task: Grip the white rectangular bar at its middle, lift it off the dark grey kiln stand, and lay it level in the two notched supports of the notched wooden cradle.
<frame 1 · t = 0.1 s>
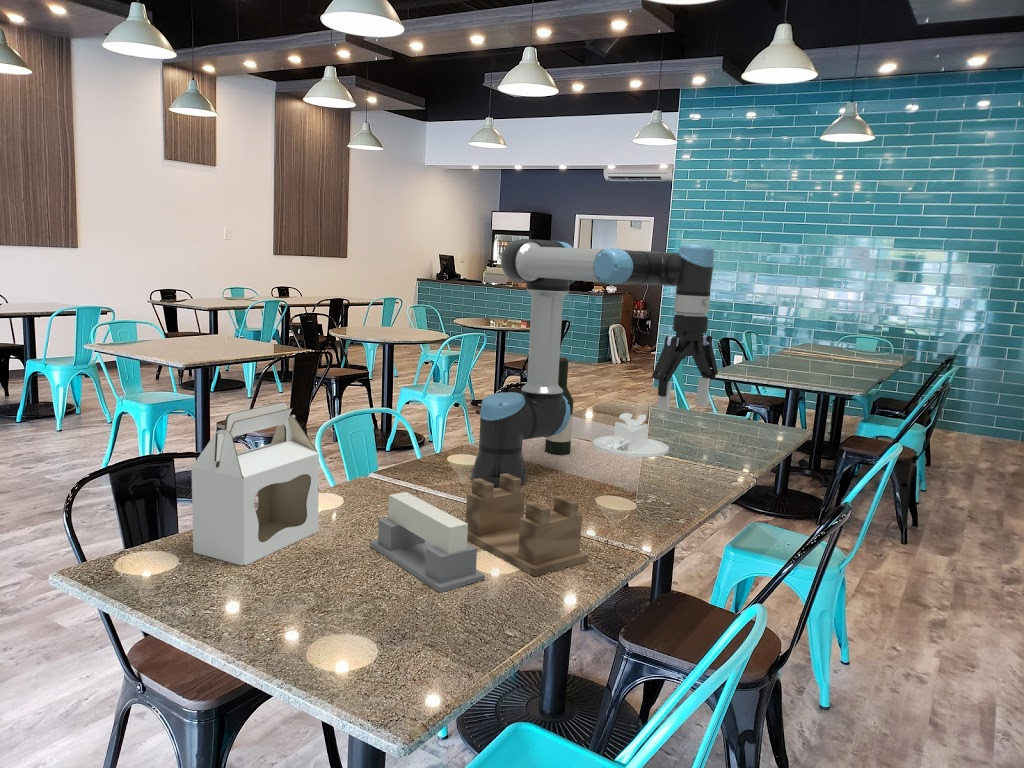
hand: (683, 408, 173), 28 cm above the table, tool pointing down, fingers open, 13 cm apart
kiln stand: (424, 562, 150), on the table
white rectangular bar: (425, 533, 149), point 6 cm above the table, touching kiln stand
dish: (630, 448, 251), on the table
gable box: (258, 542, 156), on the table
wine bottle: (557, 452, 240), on the table
notched wooden cradle: (520, 547, 160), on the table
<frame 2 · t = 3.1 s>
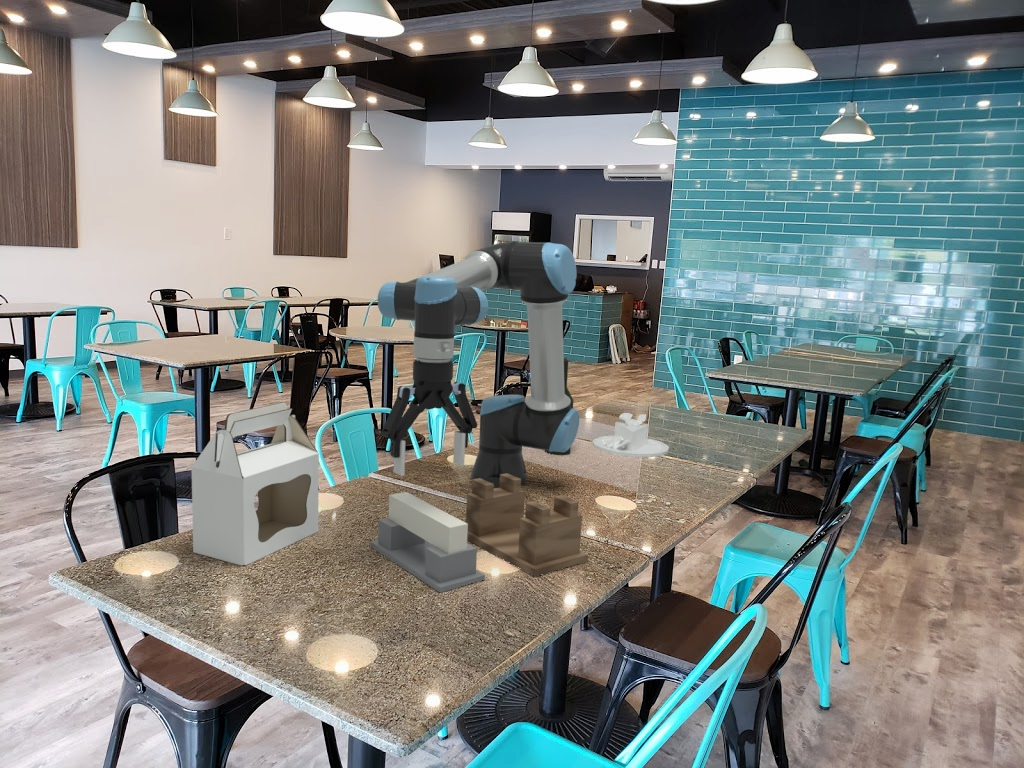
hand: (429, 469, 147), 19 cm above the table, tool pointing down, fingers open, 13 cm apart
nothing on the table moved.
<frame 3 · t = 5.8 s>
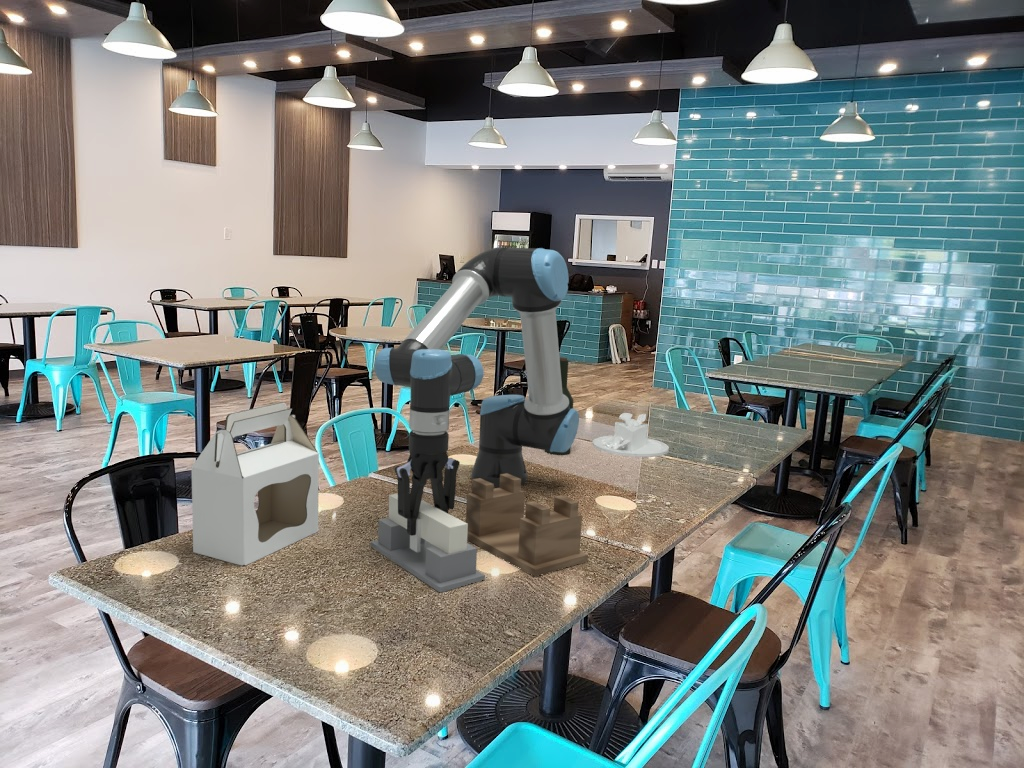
hand: (425, 547, 149), 3 cm above the table, tool pointing down, fingers closed on white rectangular bar, 4 cm apart
white rectangular bar: (425, 533, 149), point 6 cm above the table, touching gripper, kiln stand
everything else where it was.
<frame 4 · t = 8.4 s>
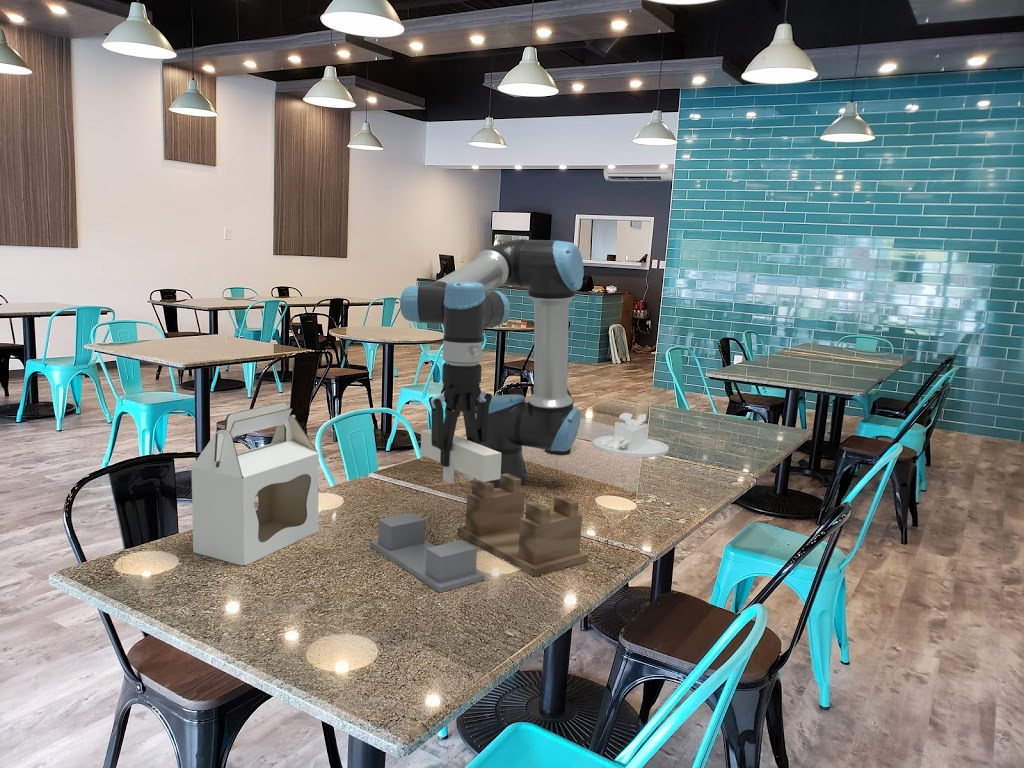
hand: (458, 479, 150), 16 cm above the table, tool pointing down, fingers closed on white rectangular bar, 4 cm apart
white rectangular bar: (458, 465, 150), point 19 cm above the table, touching gripper
everything else where it was.
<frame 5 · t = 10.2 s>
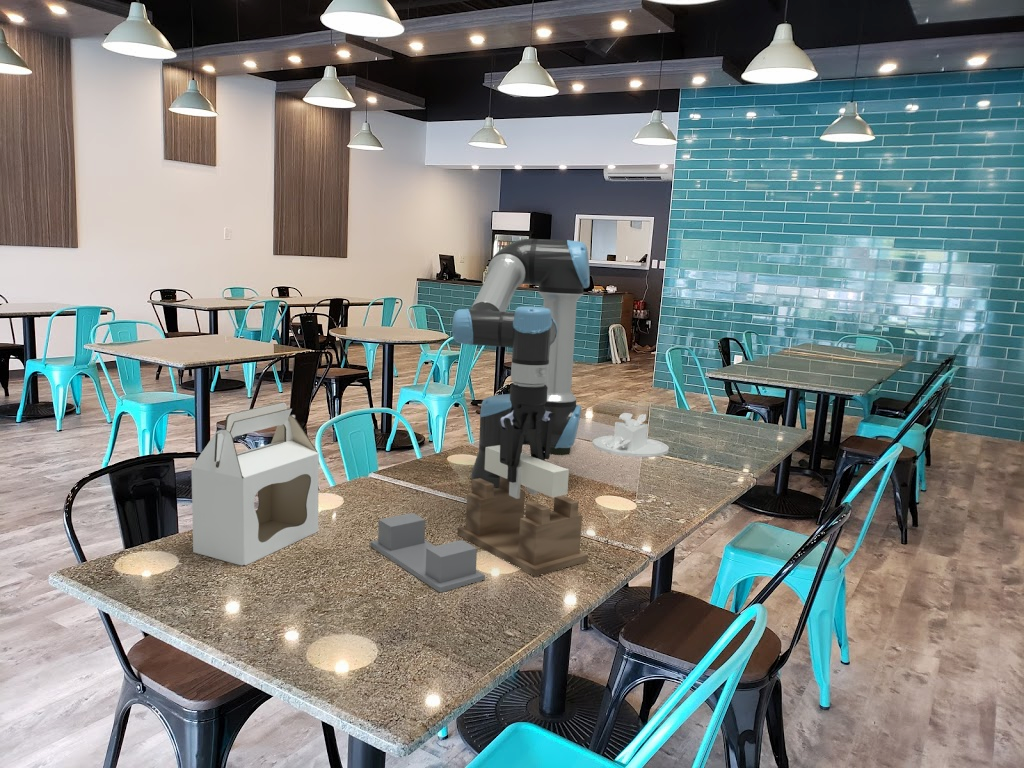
hand: (523, 494, 158), 12 cm above the table, tool pointing down, fingers closed on white rectangular bar, 4 cm apart
white rectangular bar: (524, 481, 157), point 14 cm above the table, touching gripper
everything else where it was.
when the fingers open (9 cm above the table, at t = 11.4 s): white rectangular bar drops 2 cm, resting on notched wooden cradle.
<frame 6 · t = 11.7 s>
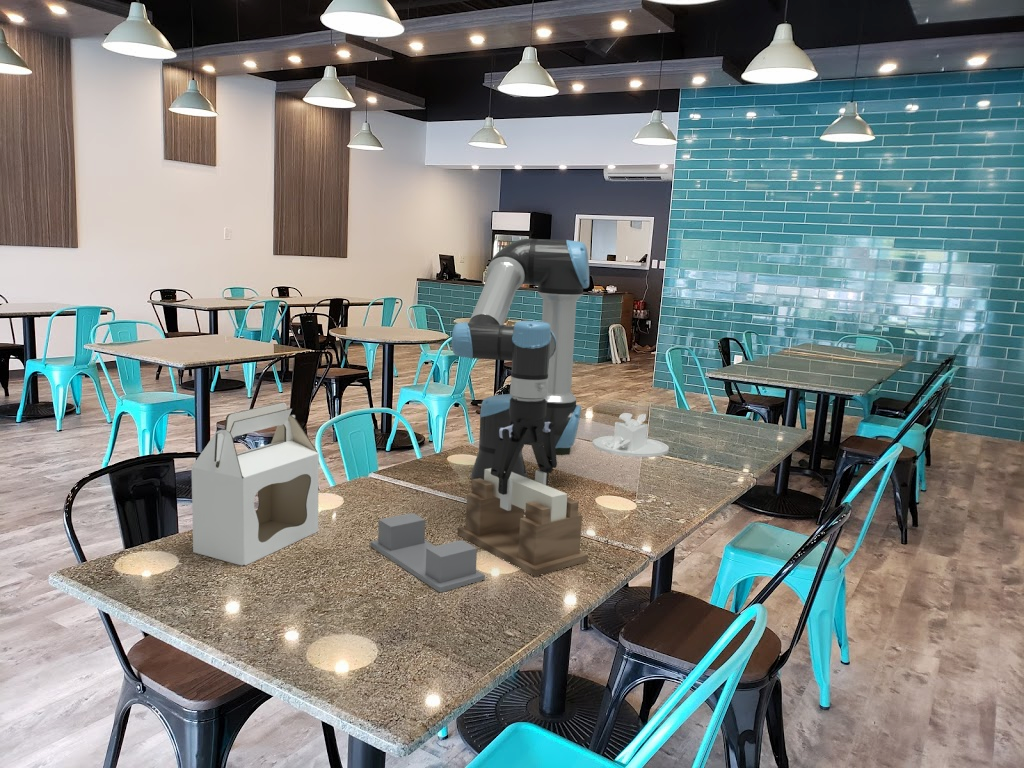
hand: (522, 504, 158), 9 cm above the table, tool pointing down, fingers open, 8 cm apart
white rectangular bar: (522, 504, 158), point 9 cm above the table, touching notched wooden cradle
everything else where it was.
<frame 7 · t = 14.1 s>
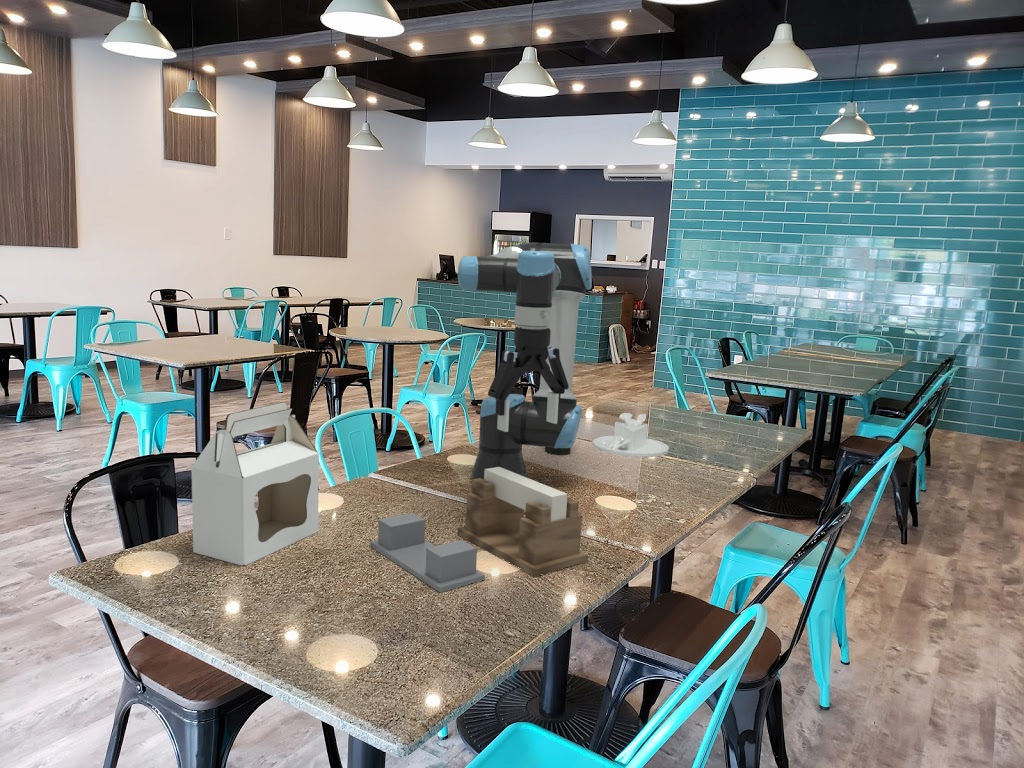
hand: (527, 426, 162), 25 cm above the table, tool pointing down, fingers open, 13 cm apart
nothing on the table moved.
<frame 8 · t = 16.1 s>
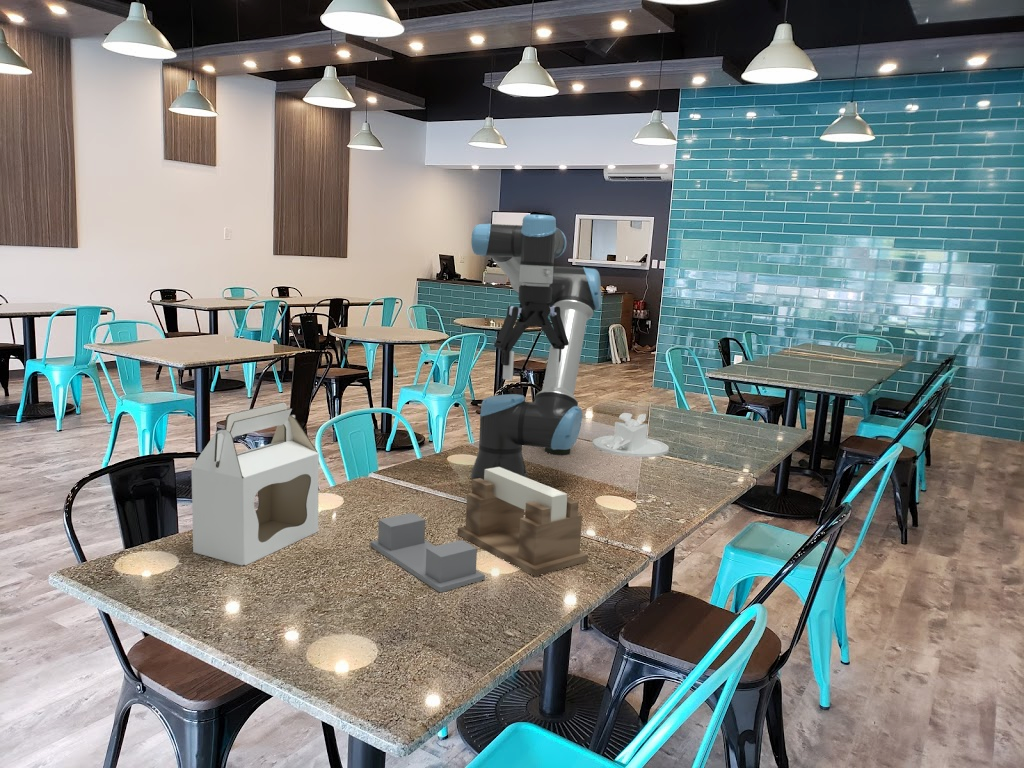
hand: (530, 378, 175), 33 cm above the table, tool pointing down, fingers open, 13 cm apart
nothing on the table moved.
at the end: white rectangular bar 0.0 cm off-centre on the notched wooden cradle, point 9.5 cm above the notched wooden cradle's base; white rectangular bar tilted 0°; the gripper is holding nothing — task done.
